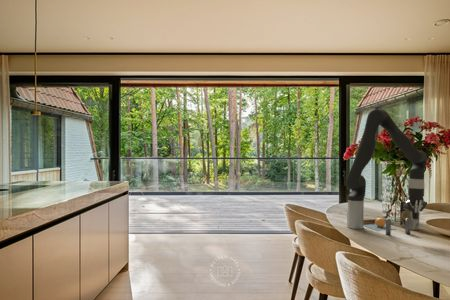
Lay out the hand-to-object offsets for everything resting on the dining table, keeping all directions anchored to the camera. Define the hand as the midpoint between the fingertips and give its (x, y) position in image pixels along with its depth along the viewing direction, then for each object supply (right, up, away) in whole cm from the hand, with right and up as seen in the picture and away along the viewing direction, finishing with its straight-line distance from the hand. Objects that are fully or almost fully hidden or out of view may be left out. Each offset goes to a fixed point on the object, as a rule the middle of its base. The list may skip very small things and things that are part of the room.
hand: (415, 219), depth 177 cm
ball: (-5, -9, +30) cm, 31 cm away
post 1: (-9, -12, +11) cm, 18 cm away
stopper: (-8, -11, +40) cm, 42 cm away
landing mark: (-6, -12, +29) cm, 32 cm away
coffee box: (+13, -12, +29) cm, 34 cm away
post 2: (+4, -12, +14) cm, 18 cm away
